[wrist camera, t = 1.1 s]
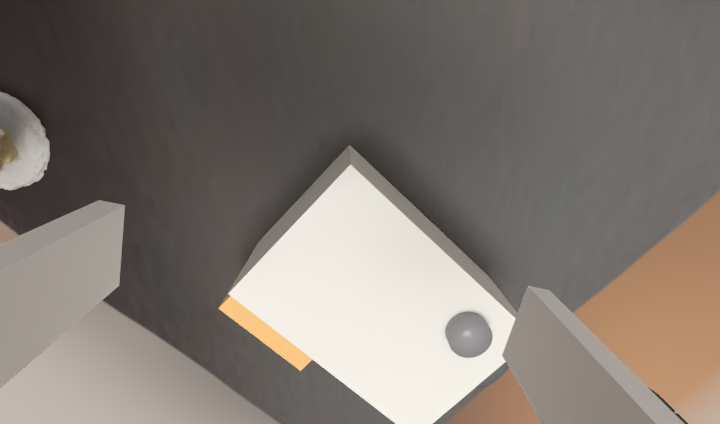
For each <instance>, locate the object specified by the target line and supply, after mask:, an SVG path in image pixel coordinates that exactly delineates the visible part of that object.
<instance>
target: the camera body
mask: <svg viewBox="0 0 720 424" xmlns="http://www.w3.org/2000/svg"><path fill="white" fill-rule="evenodd" d="M228 294H229V295H230V296H231V297H233V298H234V299H235V300H236V301H238V302H239V303H240V304H242V305H243V306H244V307H246V308H247V309H248V310H249V311H251V312H252V313H253V314H255V315H256V316H257V317H258V318H260V319H261V320H262V321H264V322H265V323H266V324H267V325H269V326H270V327H271V328H273V329H274V330H275V331H277V332H278V333H279V334H280V335H282V336H283V337H284V338H286V339H287V340H288V341H289V342H291V343H292V344H293V345H295V346H296V347H297V348H299V349H300V350H301V351H302V352H304V353H305V354H306V355H308V356H309V357H310V358H311V359H313V360H314V361H315V362H317V363H318V364H319V365H320V366H322V367H323V368H324V369H326V370H327V371H328V372H330V373H331V374H332V375H333V376H335V377H336V378H337V379H339V380H340V381H341V382H342V383H344V384H345V385H346V386H348V387H349V388H350V389H352V390H353V391H354V392H355V393H357V394H358V395H359V396H361V397H362V398H363V399H364V400H366V401H367V402H368V403H370V404H371V405H372V406H373V407H375V408H376V409H377V410H379V411H380V412H381V413H383V414H384V415H385V416H386V417H388V418H389V419H390V420H392V421H393V422H394V423H395V424H433V423H434V422H435V421H436V420H437V419H439V418H440V417H441V416H442V415H443V414H444V413H446V412H447V411H448V410H449V409H450V408H452V407H453V406H454V405H455V404H456V403H458V402H459V401H460V400H461V399H462V398H463V397H465V396H466V395H467V394H468V393H469V392H471V391H472V390H473V389H474V388H481V387H485V386H487V385H490V384H492V383H493V382H495V381H496V380H498V379H499V378H500V377H501V376H502V375H503V374H504V373H505V372H506V370H507V369H508V368H509V366H508V365H507V363H506V361H505V360H504V358H503V356H502V354H503V351H504V349H505V346H506V343H507V341H508V338H509V335H510V333H511V330H512V327H513V324H514V322H515V319H516V316H517V312H516V311H515V310H514V308H513V307H512V306H511V305H510V303H509V302H508V301H507V299H506V298H505V297H504V295H503V294H502V293H501V292H500V290H499V289H498V288H497V286H496V285H495V284H494V282H493V281H492V280H491V279H490V277H489V276H488V275H487V274H486V273H485V272H484V271H483V270H482V269H481V268H479V267H478V266H477V265H476V264H475V263H474V262H473V261H472V260H471V259H470V258H469V257H468V256H467V255H466V254H465V253H464V252H463V251H461V250H460V249H459V248H458V247H457V246H456V245H455V244H454V243H453V242H452V241H451V240H450V239H449V238H448V237H447V236H446V235H445V234H443V233H442V232H441V231H440V230H439V229H438V228H437V227H436V226H435V225H434V224H433V223H432V222H431V221H430V220H429V219H428V218H427V217H426V216H424V215H423V214H422V213H421V212H420V211H419V210H418V209H417V208H416V207H415V206H414V205H413V204H412V203H411V202H410V201H409V200H408V199H406V198H405V197H404V196H403V195H402V194H401V193H400V192H399V191H398V190H397V189H396V188H395V187H394V186H393V185H392V184H391V183H390V182H389V181H387V180H386V179H385V178H384V177H383V176H382V175H381V174H380V173H379V172H378V171H377V170H376V169H375V168H374V167H373V166H372V165H371V164H369V163H368V162H367V161H366V160H365V159H364V158H363V157H362V156H361V155H360V154H359V153H358V152H357V151H356V150H355V149H354V148H353V147H351V146H350V145H349V146H348V147H347V148H346V149H345V150H344V151H343V152H342V153H341V154H340V155H339V156H338V157H337V158H336V160H335V161H334V162H333V163H332V164H331V165H330V166H329V167H328V168H327V169H326V170H325V171H324V172H323V173H322V174H321V176H320V177H319V178H318V179H317V180H316V181H315V182H314V183H313V184H312V185H311V186H310V187H309V188H308V189H307V191H306V192H305V193H304V194H303V195H302V196H301V197H300V198H299V199H298V200H297V201H296V202H295V203H294V204H293V205H292V207H291V208H290V209H289V210H288V211H287V212H286V213H285V214H284V215H283V216H282V217H281V218H280V219H279V220H278V222H277V223H276V224H275V225H274V226H273V227H272V228H271V229H270V230H269V231H268V232H267V233H266V234H265V235H264V237H263V238H262V239H261V240H260V241H259V242H258V244H257V245H256V247H255V249H254V250H253V252H252V254H251V255H250V257H249V259H248V261H247V262H246V264H245V266H244V267H243V269H242V271H241V272H240V274H239V276H238V278H237V279H236V281H235V283H234V284H233V286H232V288H231V289H230V291H229V293H228Z"/></svg>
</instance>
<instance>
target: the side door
mask: <svg viewBox="0 0 720 424" xmlns="http://www.w3.org/2000/svg"><path fill="white" fill-rule="evenodd" d="M242 269H243V268H242ZM242 269H241V271H242ZM241 271H240V272H241ZM239 274H240V273H239ZM238 276H239V275H238ZM238 276H237V278H238ZM237 278H236V279H237ZM235 281H236V280H235ZM235 281H234V283H235ZM234 283H233V284H234ZM232 286H233V285H232ZM232 286H231V288H232ZM231 288H230V289H231ZM229 291H230V290H229ZM229 291H228V293H229ZM228 293H227V295H226V296H225V298H224V300H223V302H222V303H221V305H220V307H219V308H218V309H220V310H221V311H222V312H224V313H225V314H226V315H228V316H229V317H230V318H232V319H233V320H234V321H236V322H237V323H238V324H240V325H241V326H242V327H243V328H245V329H246V330H247V331H249V332H250V333H251V334H253V335H254V336H255V337H257V338H258V339H259V340H261V341H262V342H263V343H265V344H266V345H267V346H268V347H270V348H271V349H272V350H274V351H275V352H276V353H278V354H279V355H280V356H282V357H283V358H284V359H286V360H287V361H288V362H290V363H291V364H292V365H294V366H295V367H296V368H297V369H299V370H300V371H301V370H302V369H303V368H304V367H305V366H306V365H307V364H308V363H309V362H310V361H311V360H312V359H311V358H310V357H309V356H308V355H306V354H305V353H304V352H302V351H301V350H300V349H299V348H297V347H296V346H295V345H293V344H292V343H291V342H289V341H288V340H287V339H286V338H284V337H283V336H282V335H280V334H279V333H278V332H277V331H275V330H274V329H273V328H271V327H270V326H269V325H267V324H266V323H265V322H264V321H262V320H261V319H260V318H258V317H257V316H256V315H255V314H253V313H252V312H251V311H249V310H248V309H247V308H246V307H244V306H243V305H242V304H240V303H239V302H238V301H236V300H235V299H234V298H233V297H231V296H230V295H229V294H228Z"/></svg>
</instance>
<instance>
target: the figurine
mask: <svg viewBox="0 0 720 424" xmlns="http://www.w3.org/2000/svg"><path fill="white" fill-rule="evenodd" d="M49 148H50V147H49V140H48V139H47V137H46V131H45V128H44V127H43V126H42V125H41V122H40V119H38V118H37V117H36V115H35V114H34V113H32V111H31V110H30V109H29V108H28V107H27V106H25V105H24V104H23V103H22V102H21V101H19V100H18V99H16V98H15V97H12V96H10V95H9V94H7V93H3V92H0V188H4V189H6V190H16V189H18V188H20V187H24V186H29V185H31V184H32V183H34V182H37V181H39V180H40V179H41V178H42V177H43V175H44V173H43V172H44V170H47V165H48V164H47V163H48V162H49V156H50V150H49Z"/></svg>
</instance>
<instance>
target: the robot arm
mask: <svg viewBox="0 0 720 424" xmlns="http://www.w3.org/2000/svg"><path fill="white" fill-rule="evenodd" d="M124 211H125V205H121V204H116V203H111V202H106V201H101V200H98V201H96V202H94V203H92V204H89V205H87V206H85V207H83V208H80V209H78V210H76V211H74V212H71V213H69V214H67V215H65V216H62V217H60V218H58V219H56V220H53V221H51V222H49V223H47V224H44V225H42V226H40V227H38V228H36V229H33V230H31V231H29V232H27V233H24V234H22V235H20V236H18V237H15V238H13V239H11V240H9V241H6V242H4V243H2V244H0V388H1V387H2V386H3V385H4V384H6V383H7V382H8V381H9V380H10V379H11V378H12V377H14V376H15V375H16V374H17V373H18V372H20V371H21V370H22V369H23V368H24V367H25V366H27V365H28V364H29V363H30V362H31V361H32V360H33V359H35V358H36V357H37V356H38V355H39V354H40V353H42V352H43V351H44V350H45V349H46V348H47V347H49V346H50V345H51V344H52V343H53V342H54V341H56V340H57V339H58V338H59V337H60V336H61V335H62V334H64V333H65V332H66V331H67V330H68V329H69V328H70V327H72V326H73V325H74V324H75V323H76V322H78V321H79V320H80V319H81V318H82V317H83V316H84V315H86V314H87V313H88V312H89V311H90V310H91V309H92V308H94V307H95V306H96V305H97V304H98V303H100V302H101V301H102V300H103V299H104V298H105V297H107V296H108V295H109V294H110V293H111V292H112V291H113V290H115V289H116V288H117V287H118V286H119V280H120V266H121V252H122V239H123V225H124ZM502 356H503V358H504V360H505V361H506V363H507V365H508V366H509V368H510V370H511V372H512V373H513V375H514V377H515V378H516V380H517V382H518V383H519V385H520V387H521V389H522V390H523V392H524V394H525V395H526V397H527V399H528V400H529V402H530V404H531V405H532V407H533V409H534V411H535V412H536V414H537V416H538V418H539V419H540V421H541V423H542V424H688V423H687V422H686V421H685V420H684V419H683V418H682V417H681V416H680V415H679V414H676V413H675V412H674V409H672V408H671V407H670V406H669V405H668V404H667V403H666V402H665V401H664V400H663V399H662V398H661V397H660V396H659V395H658V394H657V393H655V392H654V391H653V390H651V389H649V388H648V387H647V386H646V385H645V384H644V383H643V382H642V381H641V380H640V379H639V378H638V377H637V376H636V375H635V374H634V373H633V372H632V371H630V369H629V368H628V367H627V366H625V364H624V363H623V362H622V361H620V359H619V358H618V357H616V356H615V355H614V354H613V353H612V352H611V351H610V350H609V349H608V348H607V347H606V346H605V345H604V344H603V343H602V342H601V341H600V340H599V339H598V338H597V337H596V336H595V335H594V334H593V333H592V332H591V331H590V330H589V329H588V328H587V327H586V326H585V325H584V324H583V323H582V322H581V321H580V320H579V319H578V318H577V317H576V316H575V315H574V314H573V313H572V312H571V311H570V310H569V309H568V308H567V307H566V306H565V305H564V304H563V303H562V302H561V301H560V300H559V299H558V298H557V297H556V296H555V295H554V294H553V293H552V292H551V291H550V290H546V289H541V288H536V287H531V286H528V287H527V290H526V292H525V295H524V298H523V300H522V303H521V306H520V308H519V311H518V314H517V316H516V319H515V322H514V324H513V327H512V330H511V333H510V335H509V338H508V341H507V343H506V346H505V349H504V351H503V354H502Z"/></svg>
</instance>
